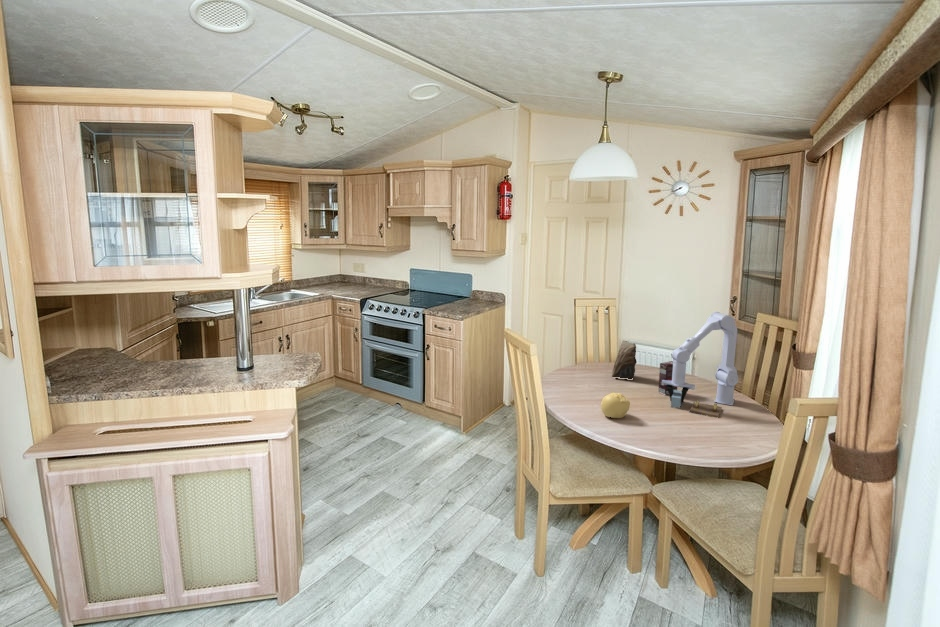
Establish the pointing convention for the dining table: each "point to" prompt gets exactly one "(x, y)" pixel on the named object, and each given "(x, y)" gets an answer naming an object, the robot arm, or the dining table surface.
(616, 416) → the yellow round lump
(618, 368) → the brown rock
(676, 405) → the light blue rectangular block
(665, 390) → the supplement box
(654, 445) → the dining table surface
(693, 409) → the peg stand
